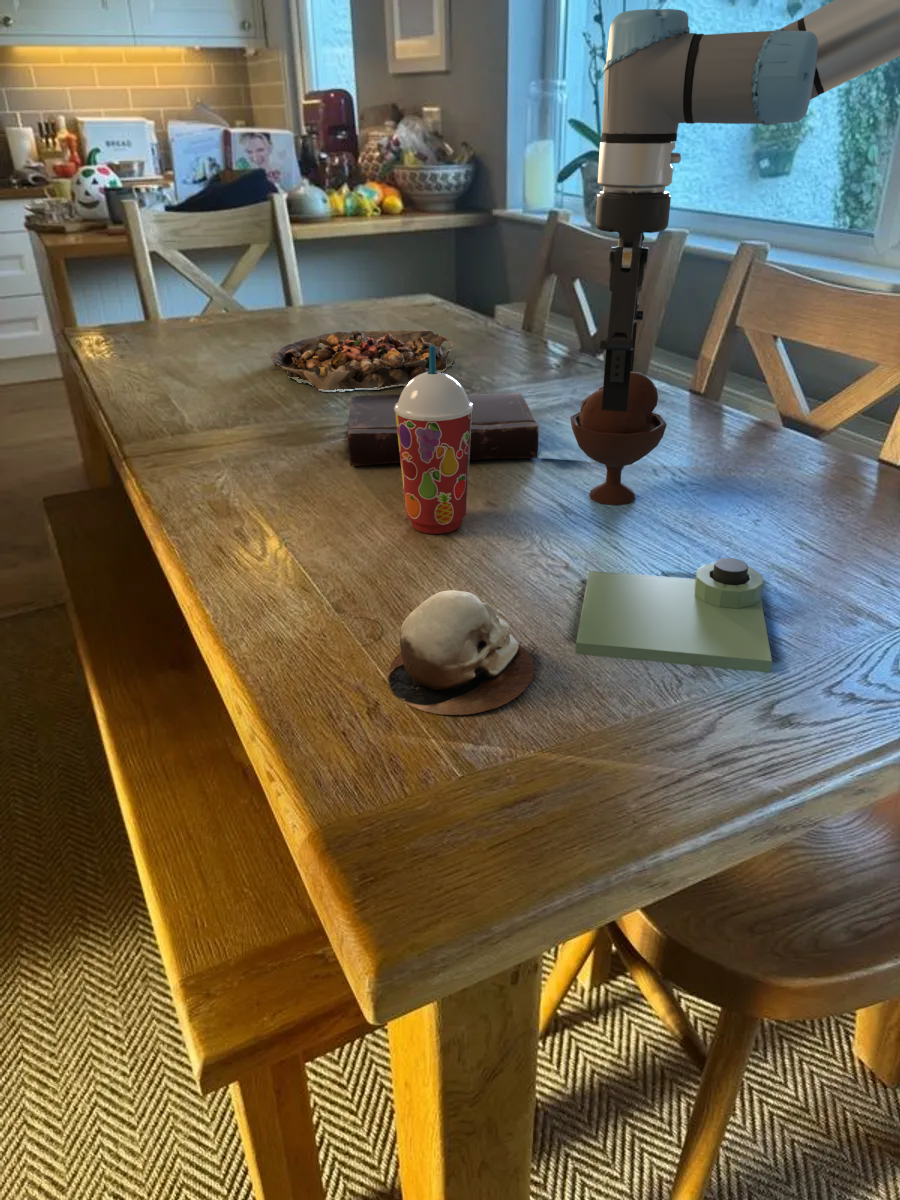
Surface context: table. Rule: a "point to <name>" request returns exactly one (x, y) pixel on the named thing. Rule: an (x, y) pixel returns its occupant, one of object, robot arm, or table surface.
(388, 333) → the food dish
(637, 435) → the ice cream bowl
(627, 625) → the scale
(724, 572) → the button
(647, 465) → the table surface
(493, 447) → the diary
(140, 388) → the table surface
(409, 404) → the smoothie
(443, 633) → the skull
